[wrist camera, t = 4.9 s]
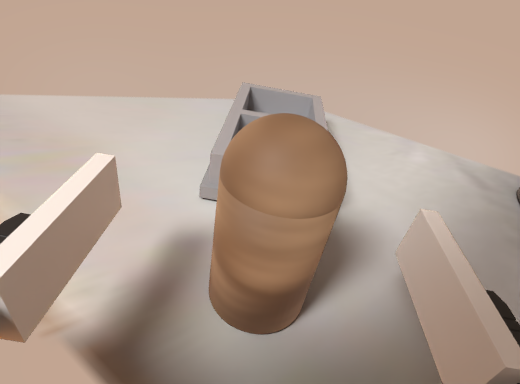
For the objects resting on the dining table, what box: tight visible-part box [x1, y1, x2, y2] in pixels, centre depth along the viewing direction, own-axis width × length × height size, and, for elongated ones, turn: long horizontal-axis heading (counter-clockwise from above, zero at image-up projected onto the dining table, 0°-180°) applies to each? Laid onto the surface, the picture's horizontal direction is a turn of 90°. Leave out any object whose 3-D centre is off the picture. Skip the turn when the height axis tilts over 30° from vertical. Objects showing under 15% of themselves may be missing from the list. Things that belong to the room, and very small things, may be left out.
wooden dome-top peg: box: [209, 113, 347, 334], centre depth 15 cm, size 5×5×10 cm
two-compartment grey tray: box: [199, 83, 328, 200], centre depth 30 cm, size 18×10×4 cm, turn 175°
